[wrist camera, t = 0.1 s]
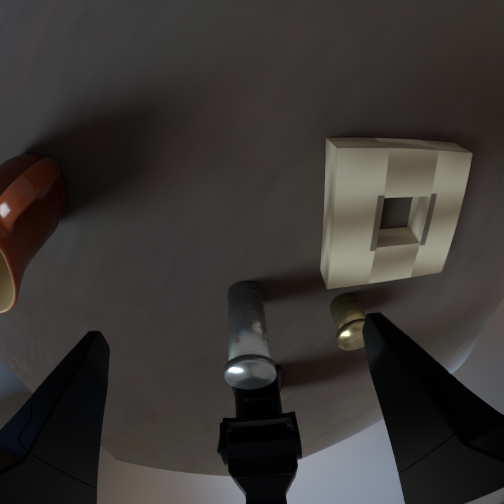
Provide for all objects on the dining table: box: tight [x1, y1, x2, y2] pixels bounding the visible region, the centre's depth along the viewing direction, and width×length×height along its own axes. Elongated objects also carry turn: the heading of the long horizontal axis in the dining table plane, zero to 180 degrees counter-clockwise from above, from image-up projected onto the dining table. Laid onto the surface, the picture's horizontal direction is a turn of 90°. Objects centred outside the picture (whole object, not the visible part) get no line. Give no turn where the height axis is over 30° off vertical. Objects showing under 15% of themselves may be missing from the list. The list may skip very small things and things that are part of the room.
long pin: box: [224, 281, 277, 389], centre depth 25 cm, size 4×4×9 cm
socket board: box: [320, 138, 473, 289], centre depth 23 cm, size 12×12×3 cm
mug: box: [0, 154, 66, 314], centre depth 16 cm, size 12×9×10 cm
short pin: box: [330, 293, 366, 350], centre depth 28 cm, size 4×4×5 cm
